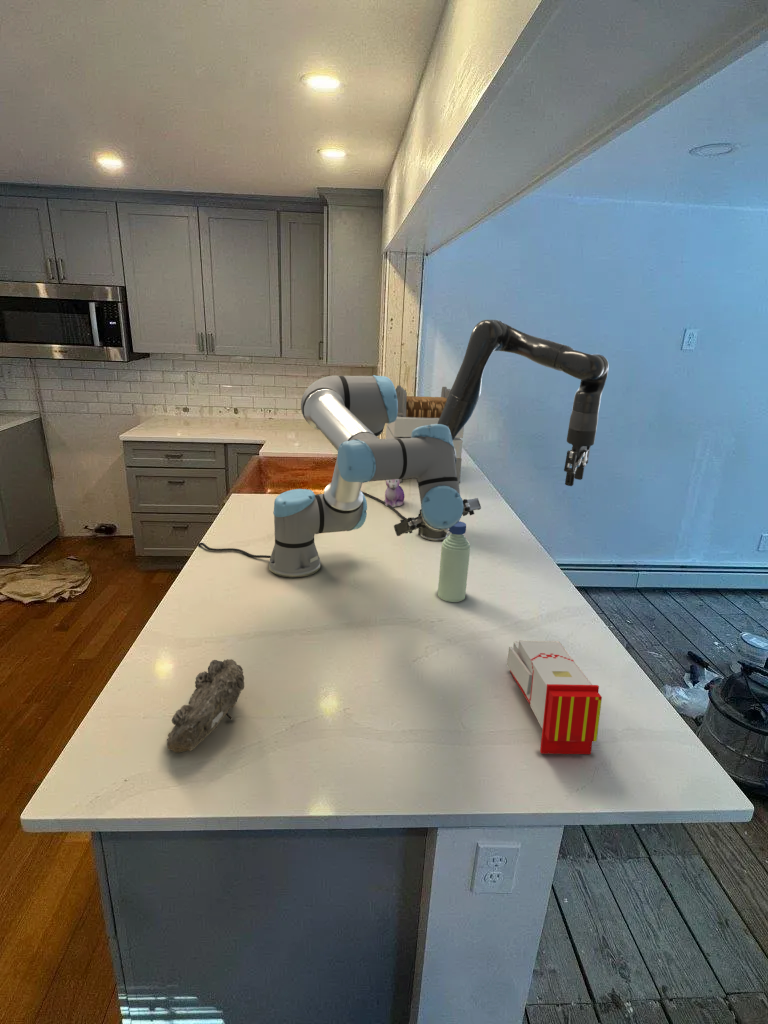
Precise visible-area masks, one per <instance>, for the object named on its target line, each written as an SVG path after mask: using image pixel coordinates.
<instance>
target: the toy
mask: <svg viewBox="0 0 768 1024" xmlns="http://www.w3.org/2000/svg"><path fill="white" fill-rule="evenodd" d="M506 658H507V659H506V666H507V667H508V669H509V673H510V674H511V676H512V678H513V679H514V681H515V683H516V685H517V686H518V688H519V690H520V691H521V692H522V694H523V697H524V698H525V699H526V701H527V703H528V705H529V707H530V709H531V710H532V712H533V714H534V716H535V718H536V720H537V722H538V724H539V726H540V728H541V730H542V731H541V740H540V750H539V752H540V754H543V755H544V754H545V755H548V754H549V755H551V754H553V755H591V754H592V748H593V742H597V740H598V731H599V725H600V716H601V708H602V706H601V705H602V698H603V696H602V695H601V694H600V693H599V689H600V686H599V685H598V684H592V682H591V681H590V680H589V678H588V677H587V676H586V674H585V673H584V671H583V670H582V669H581V668H580V666H579V665H578V664H577V663H576V662H575V660H574V659H573V658H572V656H571V655H570V653H568V651H567V650H566V648H565V647H564V645H563V644H562V643H561V642H560V641H558V640H518V641H513V645H512V646H508V651H507V657H506Z"/></svg>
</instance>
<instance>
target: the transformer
mask: <svg viewBox="0 0 768 1024" xmlns="http://www.w3.org/2000/svg"><path fill="white" fill-rule="evenodd" d="M395 390H396V394H397V400H398V413H397V418H396V420H395V421H394V422H392V423H390V424H388V423H386V425H385V426H386V428H385V438H384V439H397V438H411V437H412V431H413V430H414V429H416V428H418V427H420V426H424V425H431V424H437V423H438V421H439V418H440V416H441V413H442V411H443V408H444V406H445V403H446V400H447V398H448V395H449V393H450V391H451V388H447V386H442V387H441V392H440V393H441V394H440V396H415V395H414V396H413V395H412V396H411V395H407V394H408V393H407V390H406V389H404V388H403V387H402V385H399V384H398V385H397V386H396V387H395ZM464 429H465V425H464V426H463V428H462V429H461V430H460V431H459V433H458V434H457V435H456V437H455V438H454V440H453V445H454V449H455V451H456V474H457V479H458V483H461V472H462V461H463V460H462V453H463V442H464V441H463V440H462V439H463V438H464V431H465V430H464ZM399 481H400V483H402V482H403V479H399Z"/></svg>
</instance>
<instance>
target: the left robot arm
mask: <svg viewBox="0 0 768 1024" xmlns="http://www.w3.org/2000/svg"><path fill="white" fill-rule="evenodd" d="M300 410H301V414H302V417H303V418H304V420H305V421H306V422H307V424H308V425H309V426H310V427H311V428H313V429H314V430H318V431H320V432H321V433H322V435H323V436H324V437H325V438H326V439H327V441H328V442H329V443H330V444H331V446H333V448H334V449H335V450H336V451H337V456H336V460H335V465H334V470H333V474H332V478H331V482H329V483H328V484H327V485H326V486H325V488H324V491H323V493H318V494H316V493H315V492H314V491H313V490H312V489H308V488H307V489H306V488H295V489H290V490H286V491H284V492H281V493H280V494H278V495H277V496H276V497H275V499H274V502H273V511H272V512H273V519H274V526H273V527H274V545H273V548H272V551H271V554H270V555H266V554H265V555H264V554H259V555H258V554H253V553H249V552H248V551H246V550H243V549H240V548H234V547H233V548H232V547H231V548H230V547H228V548H213V547H209V546H208V545H207V544H205V543H204V542H199V543H197V547H200V546H202V547H203V548H204V549H207V550H208V551H212V552H238V553H242V554H244V555H246V556H248V557H251V558H256V559H269V562H268V568H269V571H270V572H271V573H272V574H274V575H276V576H278V577H283V578H291V579H294V578H295V579H296V578H304V577H308V576H311V575H314V574H315V573H317V572H318V571H320V569H321V558H320V555H319V552H318V550H317V546H316V543H315V535H318V534H329V533H340V532H350V531H355V530H358V529H361V528H362V526H363V525H364V524H365V522H366V519H367V514H368V513H367V510H368V503H367V499H366V495H364V494H363V493H362V492H363V491H362V486H363V484H364V483H368V482H369V483H370V482H379V481H386V480H393V479H402V480H405V479H416V481H417V486H418V492H419V493H418V494H419V499H420V500H419V501H420V510H421V513H420V512H419V513H418V514H417V516H416V517H408V518H407V519H406V520H405V519H403V518H402V519H400V520H399V521H400V522H398V523H396V524H394V525H393V528H394V531H395V534H396V537H400V536H401V535H404V534H413V533H414V532H413V531H415V530H418V529H419V528H421V527H422V528H427V527H428V528H429V529H431V530H433V531H437V532H441V531H444V532H447V533H450V532H449V528H451V527H452V526H454V525H455V524H457V523H458V522H459V521H461V519H462V517H465V516H467V515H468V514H469V516H473V515H475V511H478V510H481V509H482V506H481V503H480V500H479V498H478V497H475V498H470V499H467V498H464V499H463V498H462V496H461V490H460V484H459V483H460V482H459V483H458V479H457V474H456V464H455V454H454V445H453V440H452V436H451V432H450V429H449V428H448V427H447V426H446V425H443V424H431V425H424V426H420V427H418V428H416V429H414V430H413V431H412V437H411V438H397V439H385V438H379V436H380V435H382V433H383V432H384V428H385V426H386V424H387V423H388V424H390V423H392V422H394V421H395V420H396V418H397V413H398V400H397V394H396V386H395V384H394V383H393V381H392V379H391V378H389V377H388V376H385V375H375V374H372V375H328V376H323V377H320V378H319V379H317V380H315V381H313V382H312V383H311V384H310V385H308V387H307V388H306V389H305V391H304V392H303V395H302V397H301V399H300Z"/></svg>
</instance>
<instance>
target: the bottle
mask: <svg viewBox="0 0 768 1024" xmlns="http://www.w3.org/2000/svg"><path fill="white" fill-rule="evenodd" d="M470 553H471V544H470V542H469V541H468V539H467V538H466V536H465V534H462V535H456V534H452V533H449V534H448V535H447V537H446V539H444V540H442V542H441V549H440V561H439V571H438V572H439V573H438V583H437V596H438V598H439V599H440V600H442V601H445V602H449V603H459V602H462V601H464V600H465V598H466V593H467V584H468V583H467V582H468V574H469V565H470V564H469V563H470V555H471V554H470Z"/></svg>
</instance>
